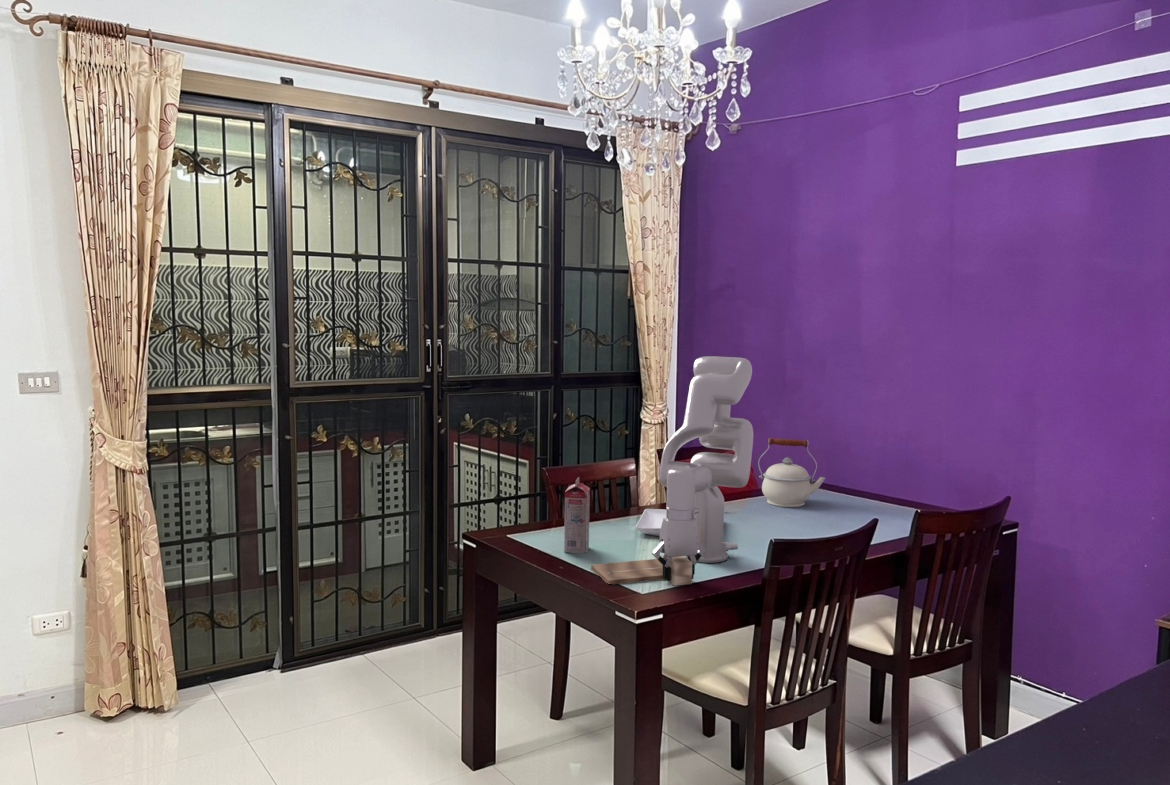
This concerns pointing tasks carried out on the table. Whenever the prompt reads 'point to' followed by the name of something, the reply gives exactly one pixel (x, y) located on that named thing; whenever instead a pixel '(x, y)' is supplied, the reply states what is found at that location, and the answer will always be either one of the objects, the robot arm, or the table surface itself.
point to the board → (629, 571)
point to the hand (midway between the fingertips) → (678, 578)
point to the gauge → (681, 571)
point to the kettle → (788, 479)
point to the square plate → (651, 521)
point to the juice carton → (576, 518)
